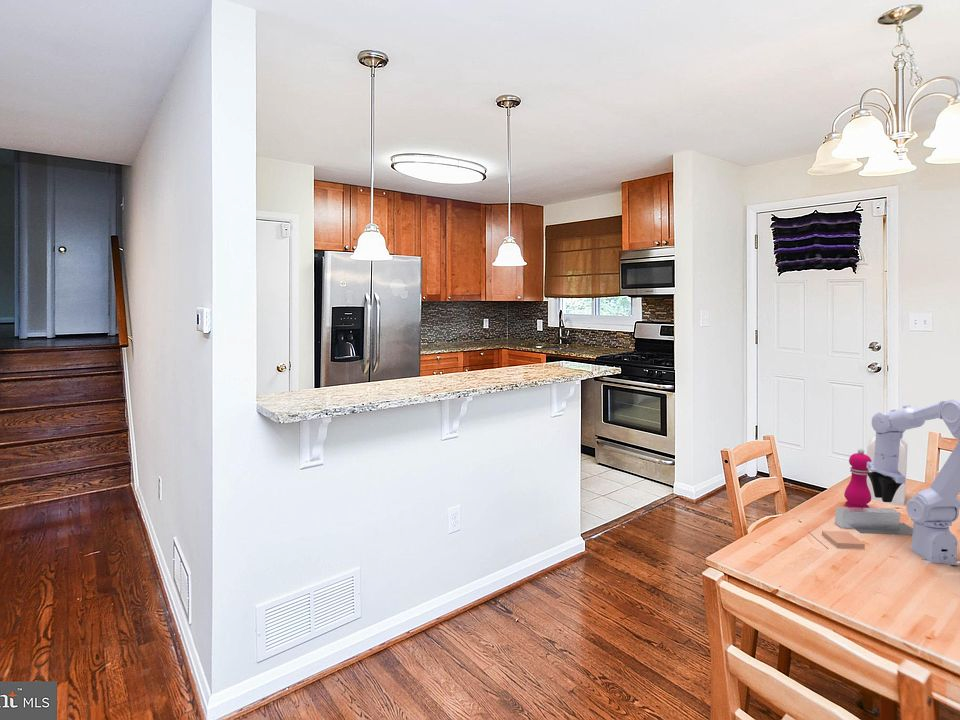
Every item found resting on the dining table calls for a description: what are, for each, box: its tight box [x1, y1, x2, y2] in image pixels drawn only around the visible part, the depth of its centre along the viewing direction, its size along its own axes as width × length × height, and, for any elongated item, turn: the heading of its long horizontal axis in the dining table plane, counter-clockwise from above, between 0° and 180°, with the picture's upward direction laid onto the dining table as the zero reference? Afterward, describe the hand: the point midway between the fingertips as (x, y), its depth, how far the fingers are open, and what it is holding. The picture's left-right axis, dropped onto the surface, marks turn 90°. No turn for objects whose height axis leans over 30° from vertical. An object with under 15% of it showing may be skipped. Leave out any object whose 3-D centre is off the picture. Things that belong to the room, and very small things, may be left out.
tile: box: [821, 530, 866, 550], centre depth 153 cm, size 2×7×8 cm
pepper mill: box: [843, 448, 872, 508], centre depth 178 cm, size 7×7×20 cm
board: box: [853, 522, 913, 536], centre depth 162 cm, size 9×17×1 cm, turn 84°
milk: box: [866, 435, 908, 507], centre depth 188 cm, size 12×12×26 cm
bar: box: [834, 506, 901, 530], centre depth 163 cm, size 4×16×5 cm, turn 86°
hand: (883, 499), depth 161 cm, fingers open, 3 cm apart
